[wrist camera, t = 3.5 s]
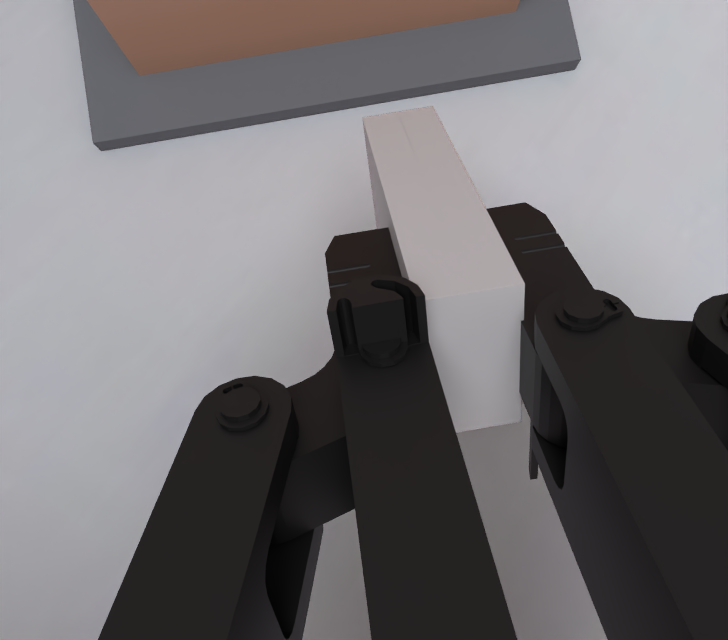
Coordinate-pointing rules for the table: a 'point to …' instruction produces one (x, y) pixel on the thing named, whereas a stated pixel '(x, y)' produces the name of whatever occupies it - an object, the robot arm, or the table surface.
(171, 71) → the mat
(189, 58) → the tile
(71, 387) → the table surface
